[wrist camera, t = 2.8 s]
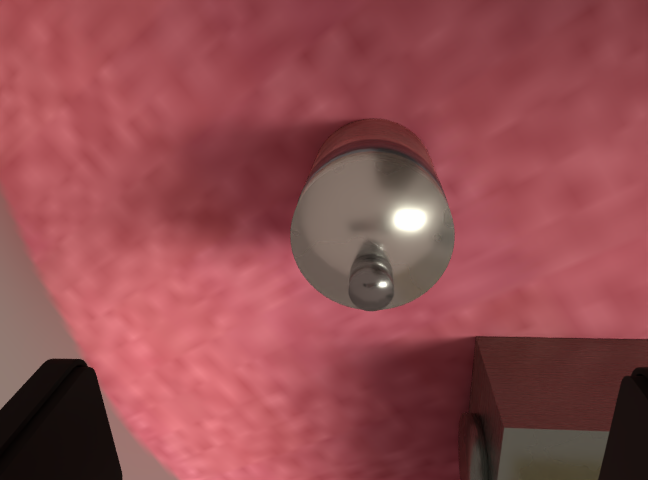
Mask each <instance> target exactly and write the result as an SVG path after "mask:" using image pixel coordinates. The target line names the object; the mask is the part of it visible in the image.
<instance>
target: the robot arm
mask: <svg viewBox="0 0 648 480" xmlns="http://www.w3.org/2000/svg"><path fill="white" fill-rule="evenodd" d="M0 480H122V471H121V467H120V464H119V460H118V456H117V452H116V448H115V445H114V441H113V437H112V433H111V429H110V425H109V422H108V418H107V414H106V410H105V406H104V403H103V399H102V395H101V391H100V387H99V384H98V380H97V376H96V373H95V370H94V369H93V368H90V367H88V366H87V364H86V363H85V361H84V360H81V359H50V360H47V361H46V362H45V363H43V364H42V366H41V367H40V368H39V369H38V370H37V371H36V372H35V373H34V374H33V375H32V376H31V377H30V379H29V380H28V381H27V382H26V383H25V384H24V385H23V386H22V387H21V388H20V389H19V391H17V393H16V394H15V395H14V396H13V397H12V398H11V399H10V400H9V401H8V402H7V403H6V404H5V405H4V407H3V408H2V409H1V410H0ZM598 480H648V367H638V368H635V369H634V370H633V372H632V374H631V376H624V378H623V379H622V381H621V384H620V389H619V393H618V397H617V402H616V406H615V410H614V414H613V419H612V423H611V427H610V431H609V436H608V440H607V444H606V448H605V453H604V457H603V461H602V465H601V470H600V474H599V478H598Z"/></svg>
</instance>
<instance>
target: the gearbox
mask: <svg viewBox="0 0 648 480" xmlns="http://www.w3.org/2000/svg"><path fill="white" fill-rule="evenodd" d="M638 367H648V340H628V339H573V338H519V337H476V342H475V352H474V363H473V374H472V384H471V395H470V405H469V413H462V415H461V418H460V423H459V437H458V450H459V469H460V480H598V478H599V474H600V470H601V465H602V461H603V457H604V453H605V448H606V444H607V440H608V436H609V431H610V427H611V423H612V419H613V414H614V410H615V406H616V402H617V397H618V393H619V389H620V384H621V381H622V379H623V378H624V376H631V374H632V372H633V370H634V369H635V368H638Z"/></svg>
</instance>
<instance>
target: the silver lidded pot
mask: <svg viewBox="0 0 648 480" xmlns="http://www.w3.org/2000/svg"><path fill="white" fill-rule="evenodd" d="M290 231H291V247H292V252H293V255H294V259H295V261H296V263H297V265H298V268H299V269H300V271H301V273H302V274H303V276H304V277H305V278H306V279H307V281H308V282H309V283H310V284H311V285H312V286H313V287H314V288H315V289H316V290H317V291H319V292H320V293H321V294H323V295H324V296H325V297H327V298H329V299H331V300H332V301H335V302H337V303H339V304H341V305H345V306H348V307H351V308H356V309H362V310H365V311H377V310H383V309H389V308H394V307H397V306H401V305H404V304H406V303H409V302H411V301H413V300H415V299H416V298H418V297H420V296H421V295H423V294H424V293H425V292H427V291H428V290H429V289H430V288H431V287H432V286H433V285H434V284H435V283H436V282H437V281H438V280H439V278H440V277H441V276H442V274H443V273H444V271H445V269H446V268H447V266H448V263H449V261H450V259H451V255H452V252H453V247H454V224H453V219H452V216H451V212H450V209H449V206H448V203H447V200H446V197H445V194H444V191H443V189H442V186H441V183H440V181H439V179H438V177H437V174H436V172H435V169H434V166H433V164H432V161H431V158H430V156H429V153H428V151H427V149H426V148H425V146H424V144H423V143H422V142H421V140H420V139H419V138H418V137H417V136H416V135H415V134H414V133H413V132H411V131H410V130H409V129H407V128H406V127H404V126H402V125H400V124H398V123H395V122H392V121H389V120H384V119H363V120H358V121H355V122H352V123H349V124H347V125H345V126H343V127H341V128H340V129H338V130H337V131H335V132H334V133H333V134H332V135H331V136H330V137H329V138H328V139H327V140H326V141H325V143H324V144H323V145H322V147H321V149H320V150H319V152H318V154H317V157H316V159H315V162H314V164H313V167H312V169H311V172H310V174H309V176H308V178H307V181H306V183H305V185H304V188H303V190H302V192H301V195H300V197H299V200H298V204H297V207H296V209H295V212H294V215H293V219H292V223H291V230H290Z"/></svg>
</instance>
